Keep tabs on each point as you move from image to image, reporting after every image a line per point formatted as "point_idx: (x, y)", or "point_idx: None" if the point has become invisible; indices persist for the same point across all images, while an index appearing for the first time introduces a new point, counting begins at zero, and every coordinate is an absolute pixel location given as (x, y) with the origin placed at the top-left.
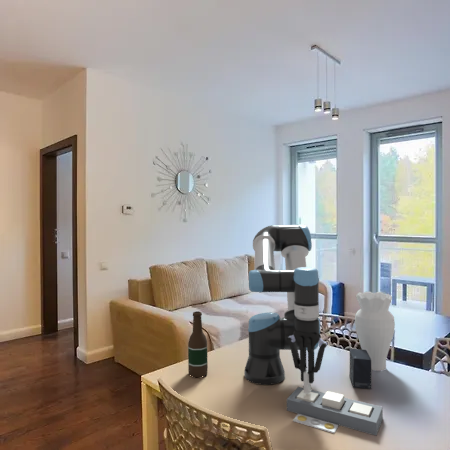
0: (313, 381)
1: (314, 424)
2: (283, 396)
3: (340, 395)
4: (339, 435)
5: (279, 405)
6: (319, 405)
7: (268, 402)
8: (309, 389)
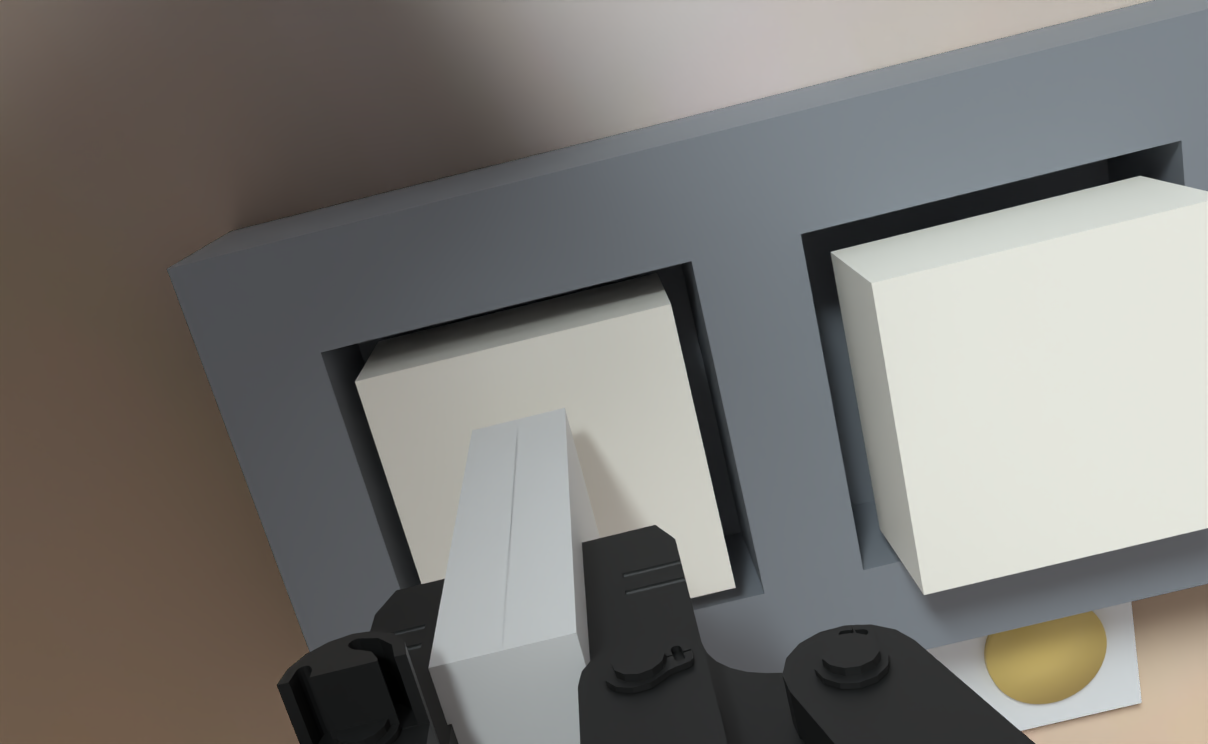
0: (664, 542)
1: None
2: (45, 386)
3: (1172, 276)
4: (1194, 681)
5: (217, 640)
6: (870, 599)
7: (45, 682)
8: (592, 532)
